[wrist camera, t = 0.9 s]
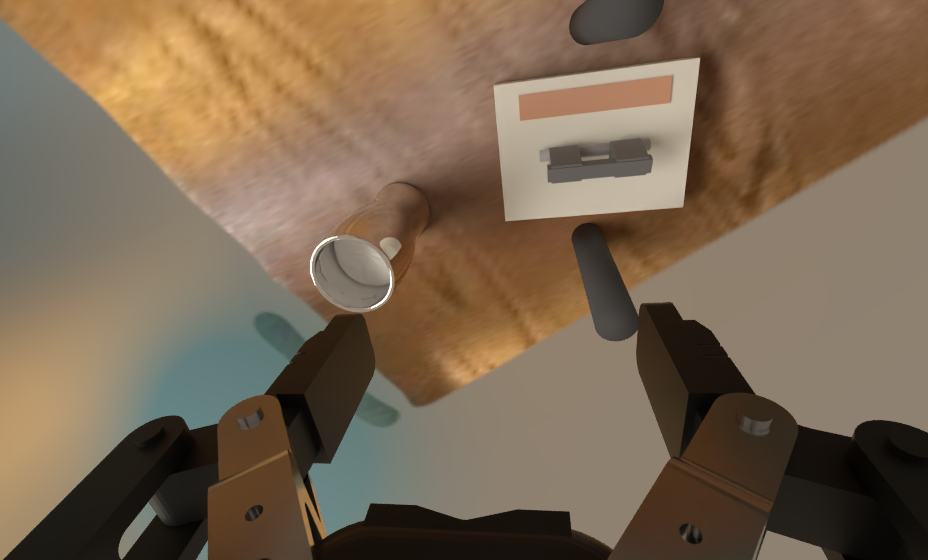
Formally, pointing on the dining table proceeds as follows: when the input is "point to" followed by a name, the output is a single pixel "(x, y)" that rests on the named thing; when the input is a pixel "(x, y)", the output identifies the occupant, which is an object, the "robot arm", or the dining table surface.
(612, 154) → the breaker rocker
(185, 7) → the dining table surface
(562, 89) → the breaker panel
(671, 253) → the dining table surface
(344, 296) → the beer glass
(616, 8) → the cable post near arm
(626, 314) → the post
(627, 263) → the dining table surface
